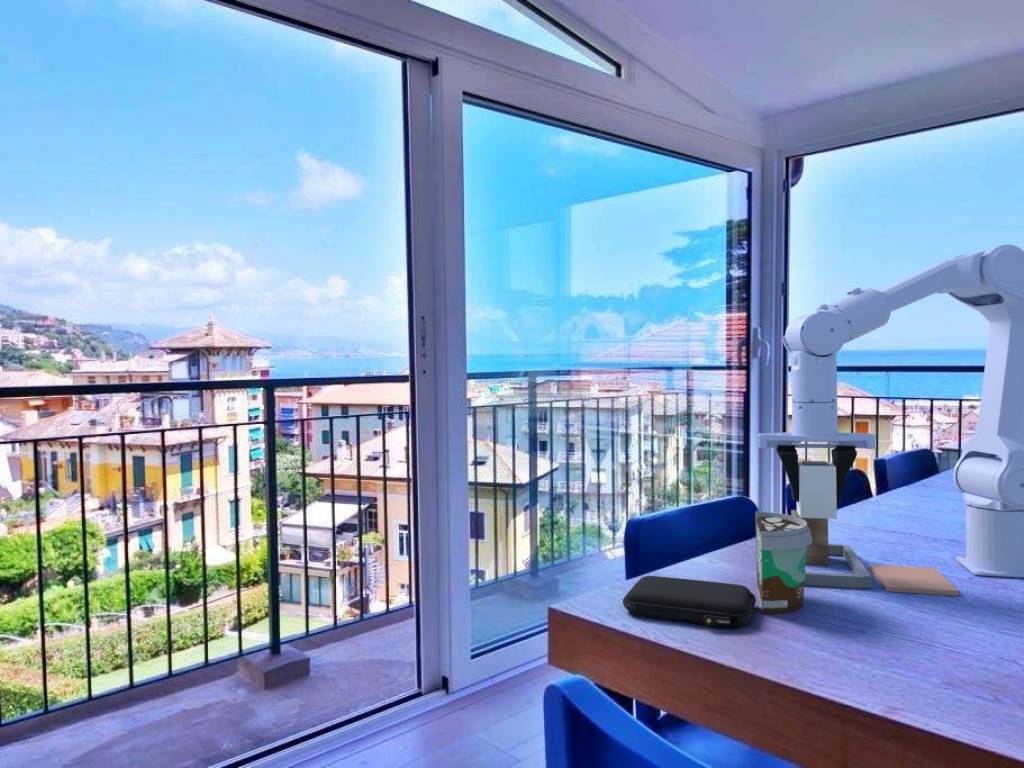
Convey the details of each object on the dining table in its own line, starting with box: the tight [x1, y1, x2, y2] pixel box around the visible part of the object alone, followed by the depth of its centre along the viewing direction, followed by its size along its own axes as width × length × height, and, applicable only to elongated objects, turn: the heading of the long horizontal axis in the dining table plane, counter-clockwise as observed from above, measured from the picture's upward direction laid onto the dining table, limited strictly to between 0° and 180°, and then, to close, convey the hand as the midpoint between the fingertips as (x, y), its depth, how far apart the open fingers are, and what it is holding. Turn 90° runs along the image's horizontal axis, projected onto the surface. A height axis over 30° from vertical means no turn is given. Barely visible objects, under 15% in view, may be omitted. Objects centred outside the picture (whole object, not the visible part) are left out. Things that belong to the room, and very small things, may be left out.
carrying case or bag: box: [622, 575, 757, 629], centre depth 82 cm, size 11×3×15 cm
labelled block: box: [796, 460, 838, 520], centre depth 94 cm, size 4×4×7 cm
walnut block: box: [790, 509, 830, 566], centre depth 102 cm, size 4×4×7 cm
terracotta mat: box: [869, 564, 960, 597], centre depth 91 cm, size 8×10×1 cm
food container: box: [754, 511, 813, 615], centre depth 84 cm, size 12×6×10 cm, turn 164°
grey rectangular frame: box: [804, 542, 873, 590], centre depth 98 cm, size 12×17×2 cm
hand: (816, 500), depth 94 cm, fingers closed on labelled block, 4 cm apart
